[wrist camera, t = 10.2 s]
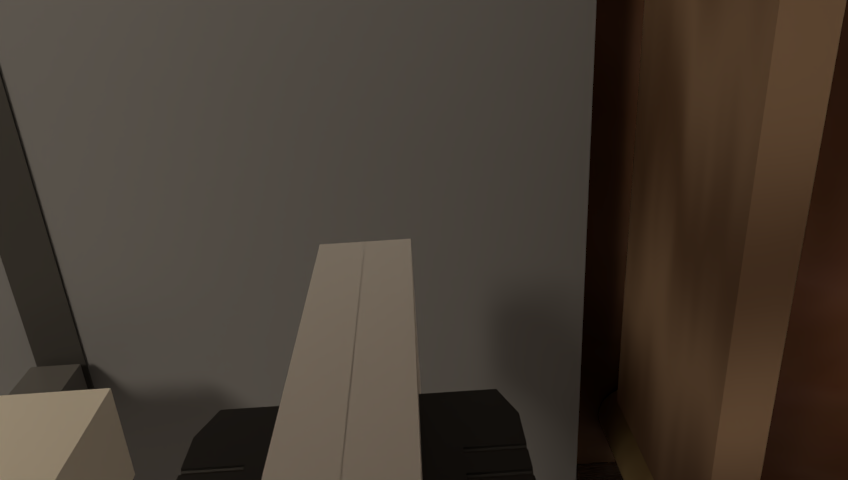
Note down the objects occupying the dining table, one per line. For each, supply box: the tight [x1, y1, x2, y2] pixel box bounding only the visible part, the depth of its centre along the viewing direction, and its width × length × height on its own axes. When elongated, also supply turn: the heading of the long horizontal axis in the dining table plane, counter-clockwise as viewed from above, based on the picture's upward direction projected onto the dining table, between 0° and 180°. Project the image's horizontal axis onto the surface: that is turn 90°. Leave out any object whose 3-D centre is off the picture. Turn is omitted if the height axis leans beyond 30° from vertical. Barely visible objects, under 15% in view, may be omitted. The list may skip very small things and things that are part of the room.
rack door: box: [598, 0, 847, 480], centre depth 15 cm, size 17×2×7 cm, turn 3°
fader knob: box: [0, 364, 135, 480], centre depth 15 cm, size 2×4×5 cm, turn 93°
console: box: [0, 0, 597, 480], centre depth 16 cm, size 26×18×3 cm
